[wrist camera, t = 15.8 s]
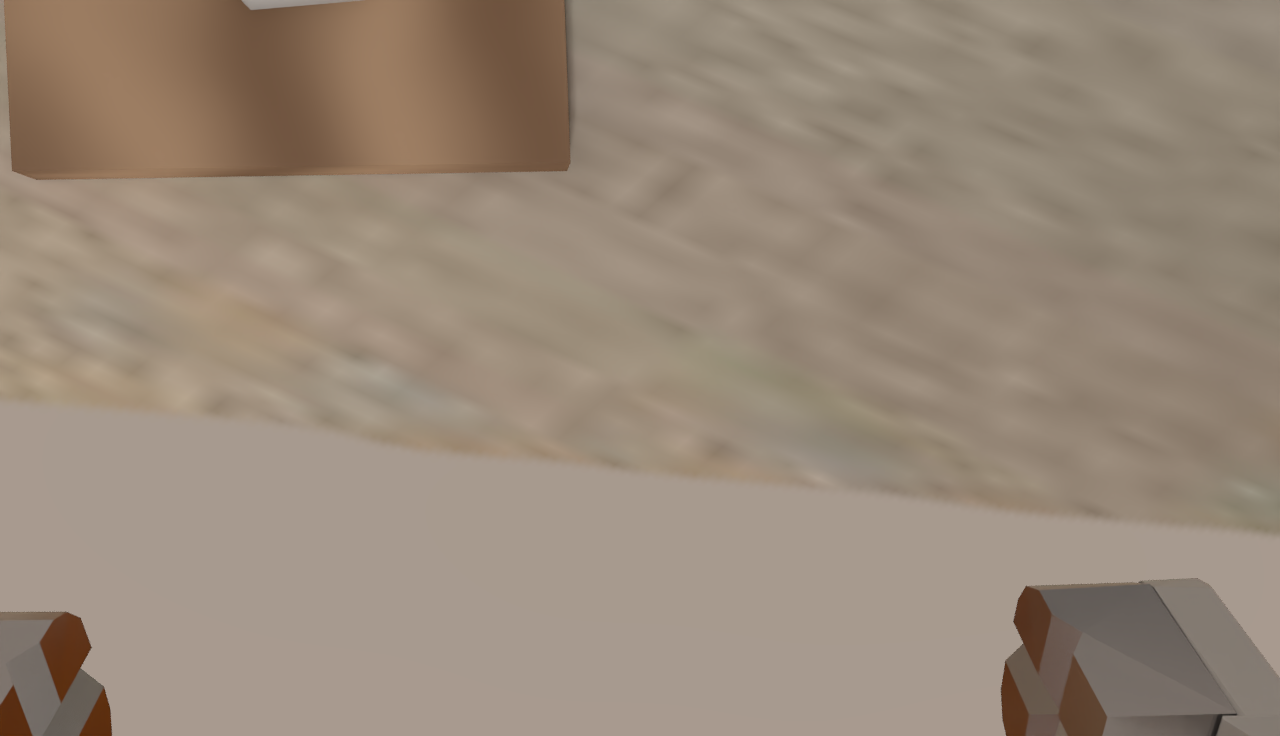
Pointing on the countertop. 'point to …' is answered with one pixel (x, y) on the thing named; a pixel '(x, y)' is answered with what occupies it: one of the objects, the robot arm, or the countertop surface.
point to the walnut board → (285, 88)
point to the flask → (286, 3)
